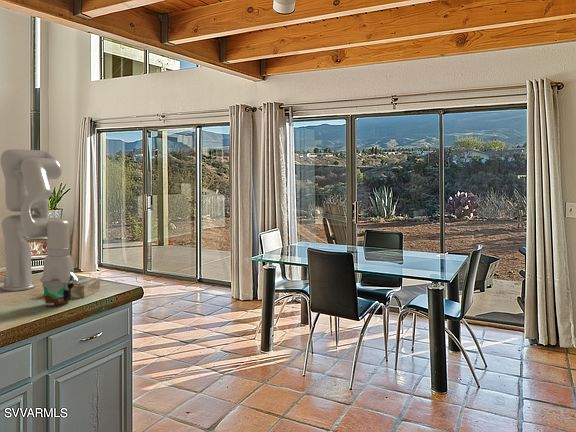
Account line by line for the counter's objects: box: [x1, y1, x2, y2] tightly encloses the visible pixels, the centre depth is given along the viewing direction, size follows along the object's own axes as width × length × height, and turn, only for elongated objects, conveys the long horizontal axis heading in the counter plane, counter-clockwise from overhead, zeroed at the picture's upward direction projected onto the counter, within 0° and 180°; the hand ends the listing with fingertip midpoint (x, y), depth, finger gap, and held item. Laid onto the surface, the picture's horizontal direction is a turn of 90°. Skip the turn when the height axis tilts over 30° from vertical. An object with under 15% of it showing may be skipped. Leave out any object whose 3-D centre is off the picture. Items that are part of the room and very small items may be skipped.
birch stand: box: [71, 276, 101, 299], centre depth 192 cm, size 16×12×5 cm
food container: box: [42, 280, 72, 308], centre depth 176 cm, size 12×6×10 cm, turn 169°
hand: (59, 299), depth 176 cm, fingers closed on food container, 5 cm apart
